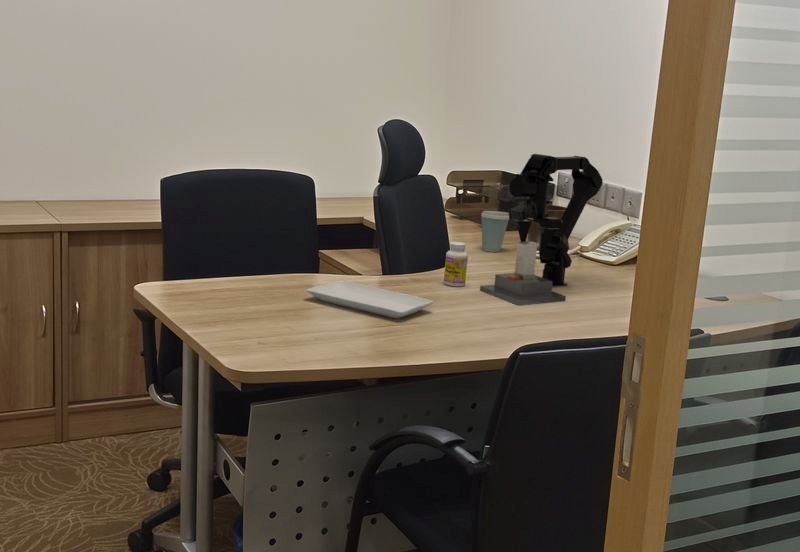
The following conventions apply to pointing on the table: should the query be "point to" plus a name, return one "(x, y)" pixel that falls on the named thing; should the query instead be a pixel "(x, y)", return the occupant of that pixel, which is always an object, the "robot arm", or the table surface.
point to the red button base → (522, 290)
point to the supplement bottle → (456, 265)
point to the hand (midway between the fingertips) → (532, 246)
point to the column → (525, 260)
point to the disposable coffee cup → (493, 229)
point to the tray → (369, 298)
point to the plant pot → (534, 231)
